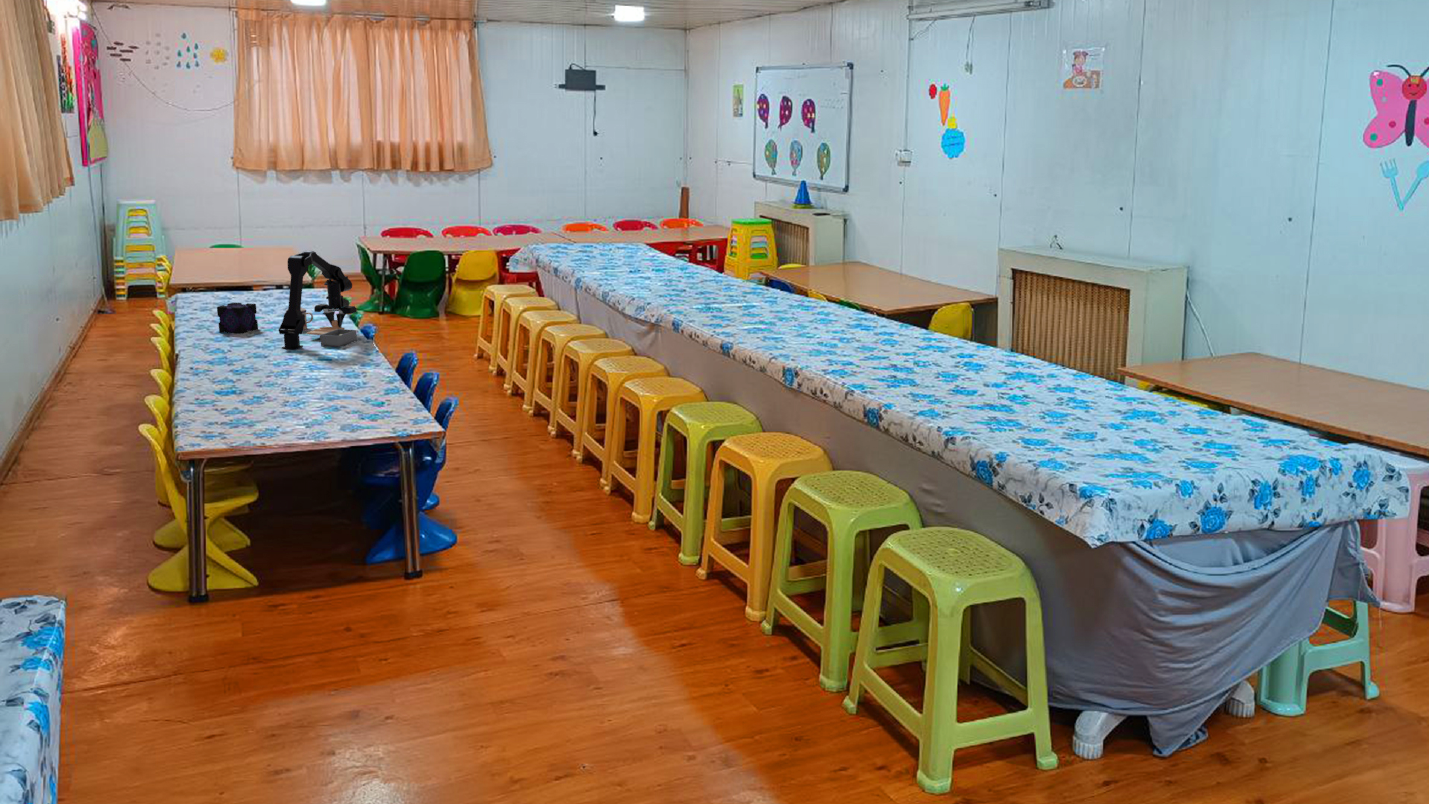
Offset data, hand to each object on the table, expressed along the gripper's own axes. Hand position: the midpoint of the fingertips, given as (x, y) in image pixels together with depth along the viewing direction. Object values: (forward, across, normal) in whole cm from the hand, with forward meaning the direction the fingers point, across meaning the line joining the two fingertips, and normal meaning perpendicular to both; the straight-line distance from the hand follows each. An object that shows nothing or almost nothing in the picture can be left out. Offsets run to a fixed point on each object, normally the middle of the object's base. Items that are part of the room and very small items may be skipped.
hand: (336, 327), depth 528 cm
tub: (+3, -13, +19) cm, 23 cm away
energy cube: (+3, +47, +8) cm, 48 cm away
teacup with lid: (+3, +23, -6) cm, 24 cm away
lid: (0, 0, +7) cm, 7 cm away
